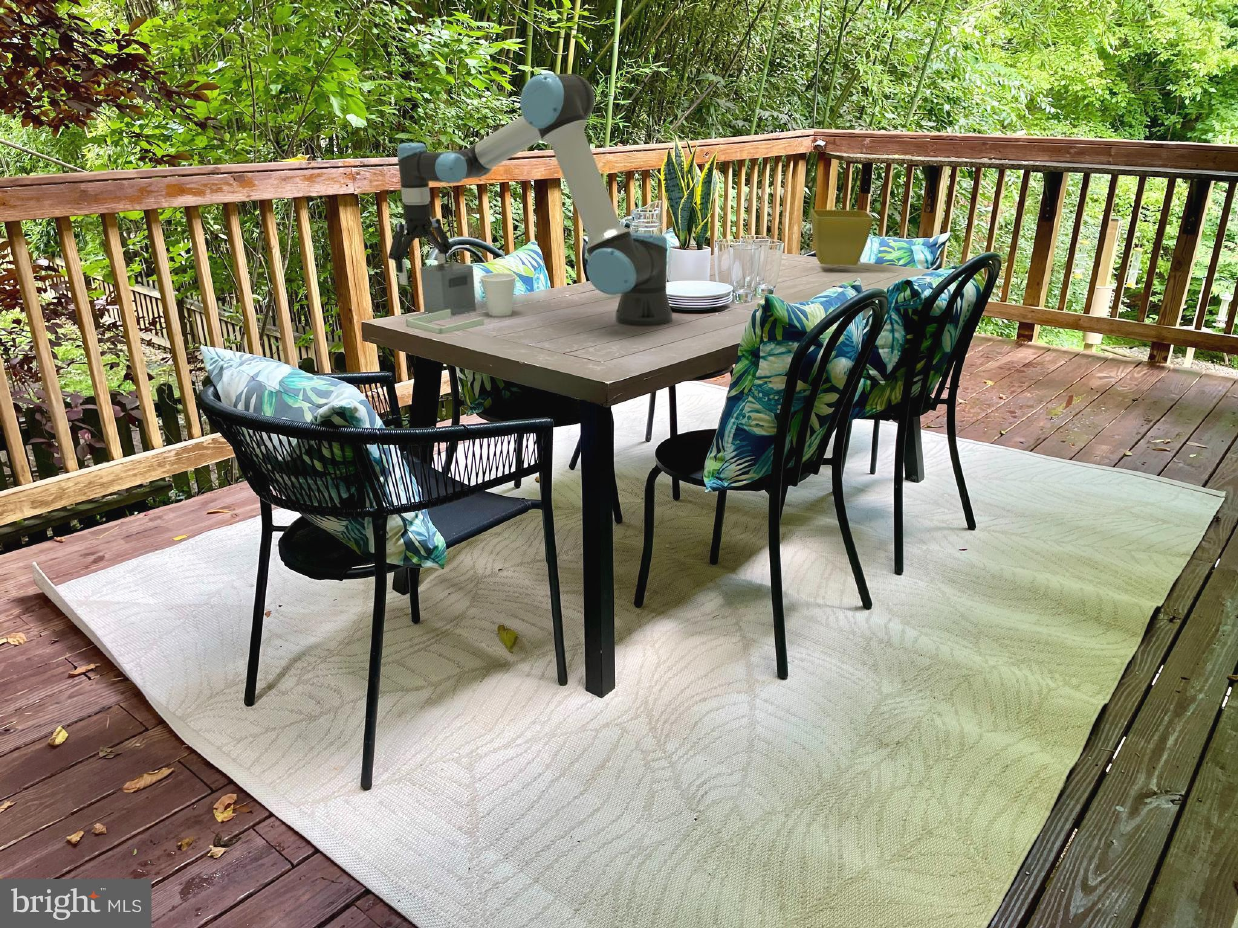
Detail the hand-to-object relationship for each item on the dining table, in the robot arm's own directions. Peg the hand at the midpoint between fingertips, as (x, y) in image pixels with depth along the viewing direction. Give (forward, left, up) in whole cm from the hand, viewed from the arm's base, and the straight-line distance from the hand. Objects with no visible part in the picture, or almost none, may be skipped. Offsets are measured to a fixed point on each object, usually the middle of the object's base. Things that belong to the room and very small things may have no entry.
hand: (423, 280), depth 253 cm
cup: (-24, -7, -8) cm, 26 cm away
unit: (-11, 0, -8) cm, 13 cm away
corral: (-24, +12, -8) cm, 28 cm away
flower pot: (-57, -136, -8) cm, 148 cm away
